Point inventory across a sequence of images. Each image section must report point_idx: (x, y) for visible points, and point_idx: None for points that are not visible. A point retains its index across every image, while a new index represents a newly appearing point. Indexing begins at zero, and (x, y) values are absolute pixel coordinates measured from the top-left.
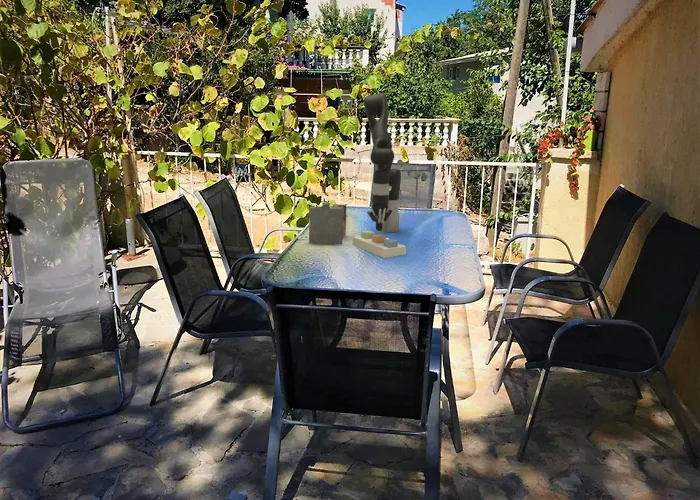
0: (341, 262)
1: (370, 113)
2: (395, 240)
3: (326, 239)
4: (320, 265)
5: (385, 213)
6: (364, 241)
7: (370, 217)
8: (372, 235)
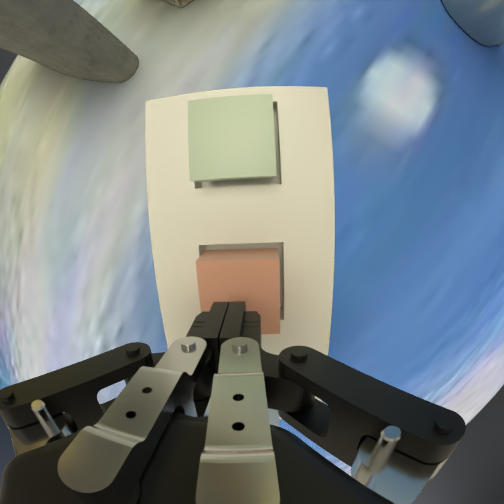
0: (41, 343)
1: None
2: (270, 422)
3: (59, 70)
4: (2, 330)
5: (358, 420)
6: (151, 241)
7: (74, 368)
8: (197, 263)
